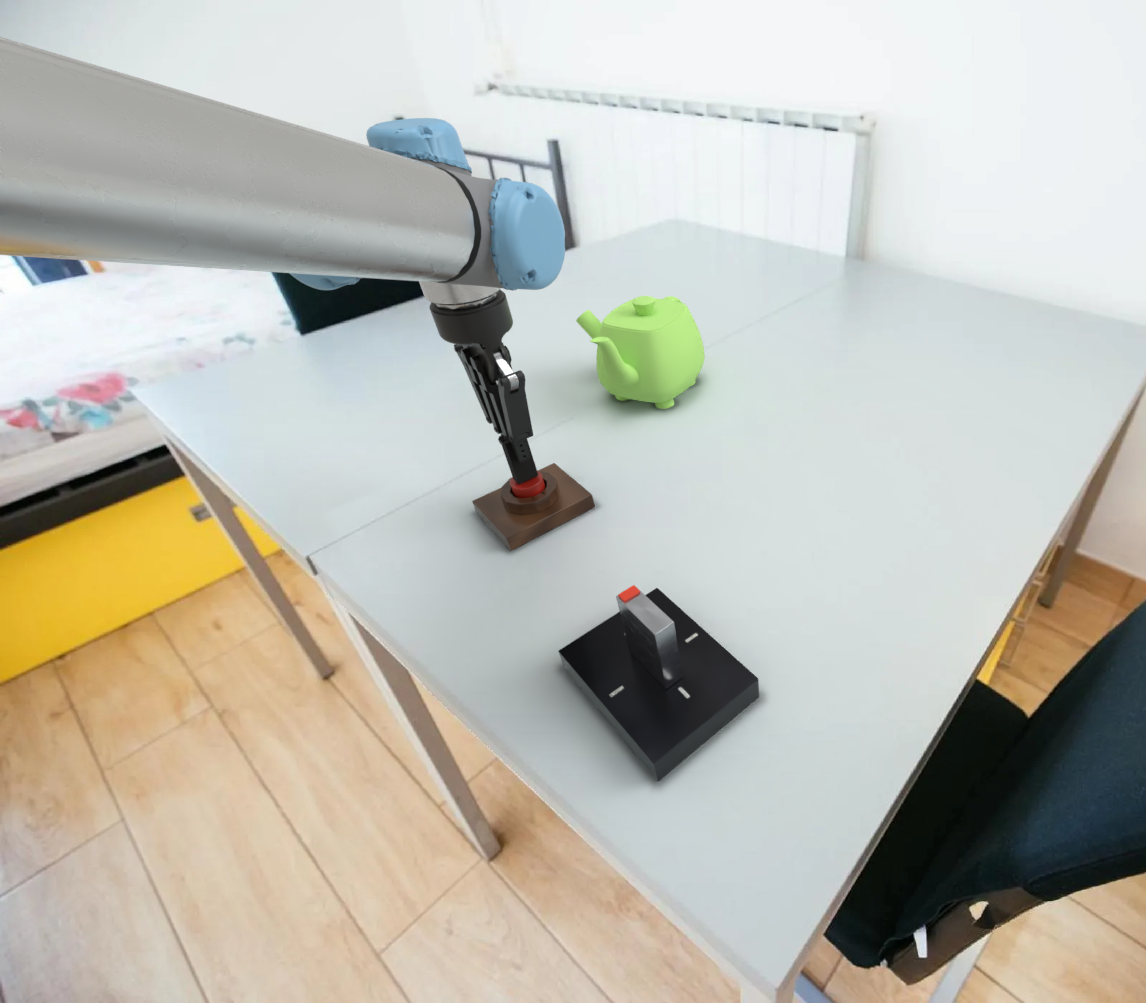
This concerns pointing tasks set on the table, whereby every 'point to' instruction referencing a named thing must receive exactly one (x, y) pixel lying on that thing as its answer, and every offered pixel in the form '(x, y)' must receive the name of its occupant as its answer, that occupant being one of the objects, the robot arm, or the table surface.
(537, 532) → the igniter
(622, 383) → the teapot
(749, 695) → the panel
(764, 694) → the table surface
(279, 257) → the robot arm
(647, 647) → the red-tipped metal bar
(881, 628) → the table surface
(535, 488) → the button
